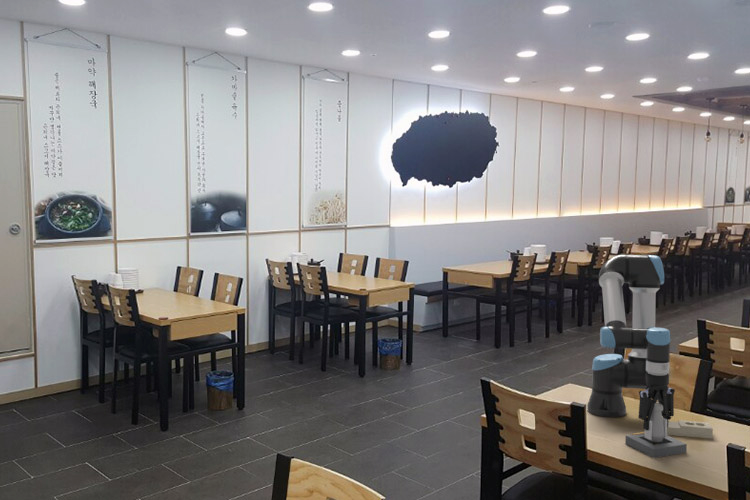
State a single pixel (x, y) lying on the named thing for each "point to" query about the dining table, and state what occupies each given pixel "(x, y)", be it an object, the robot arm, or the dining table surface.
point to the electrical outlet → (690, 429)
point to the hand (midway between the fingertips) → (655, 437)
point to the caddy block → (663, 449)
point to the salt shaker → (657, 423)
